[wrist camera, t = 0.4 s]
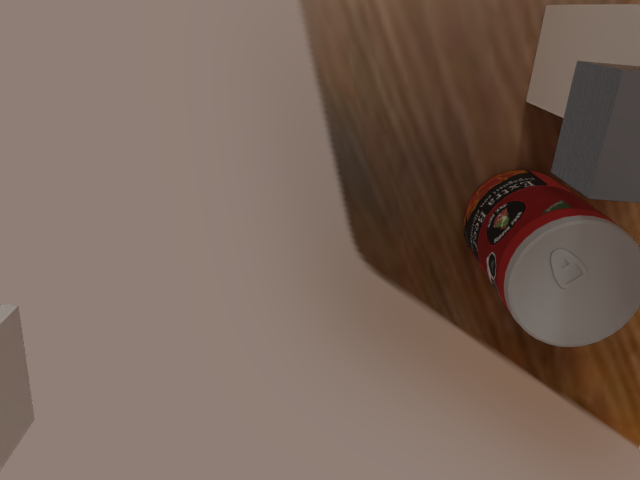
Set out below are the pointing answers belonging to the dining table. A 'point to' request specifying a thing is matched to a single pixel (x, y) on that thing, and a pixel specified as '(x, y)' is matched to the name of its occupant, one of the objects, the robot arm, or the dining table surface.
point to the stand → (580, 47)
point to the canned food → (553, 258)
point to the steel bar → (601, 133)
